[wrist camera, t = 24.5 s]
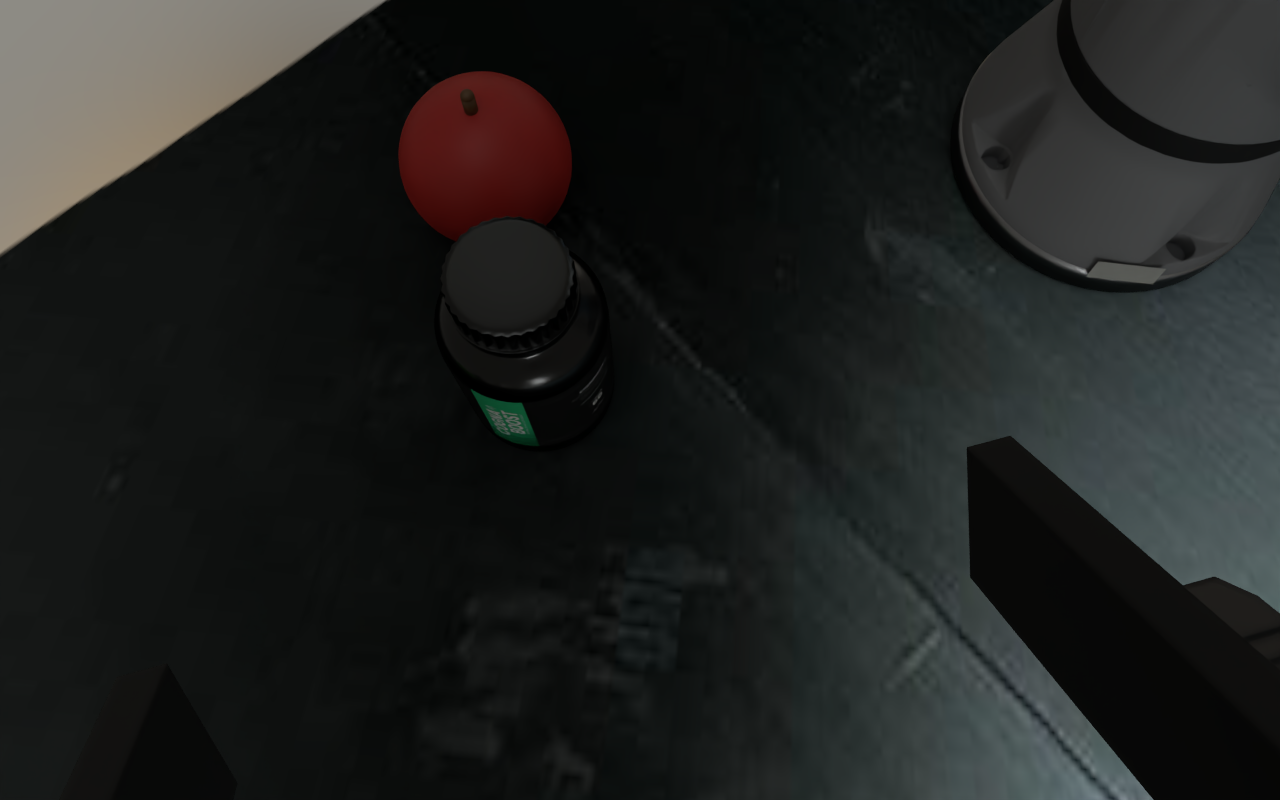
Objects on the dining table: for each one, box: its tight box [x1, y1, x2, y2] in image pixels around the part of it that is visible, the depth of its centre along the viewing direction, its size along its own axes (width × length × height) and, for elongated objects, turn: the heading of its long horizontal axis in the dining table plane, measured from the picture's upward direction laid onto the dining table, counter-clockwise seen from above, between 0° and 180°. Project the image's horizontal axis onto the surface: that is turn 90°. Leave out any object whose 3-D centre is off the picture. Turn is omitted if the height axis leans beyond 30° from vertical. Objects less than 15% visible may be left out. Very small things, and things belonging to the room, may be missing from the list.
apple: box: [399, 71, 572, 241], centre depth 42 cm, size 8×8×9 cm
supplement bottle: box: [434, 216, 614, 451], centre depth 38 cm, size 7×7×12 cm
